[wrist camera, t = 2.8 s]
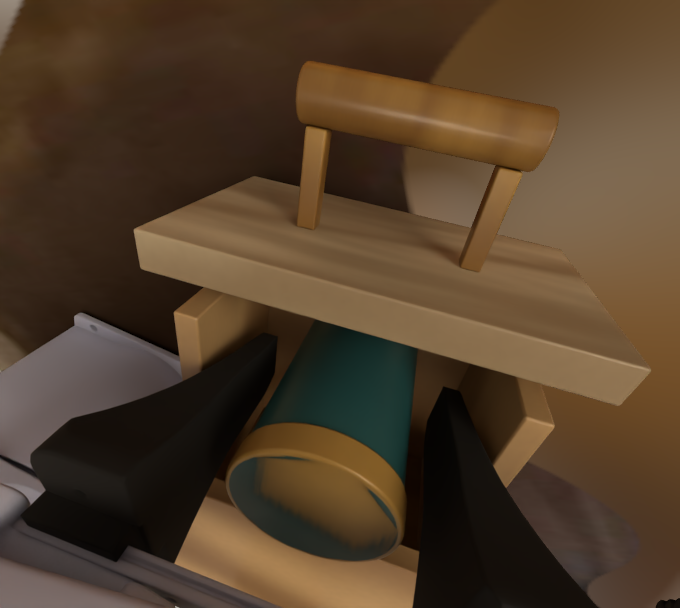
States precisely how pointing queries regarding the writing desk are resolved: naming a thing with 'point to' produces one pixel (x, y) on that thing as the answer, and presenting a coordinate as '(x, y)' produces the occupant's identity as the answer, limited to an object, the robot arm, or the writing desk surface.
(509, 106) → the drawer
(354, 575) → the cabinet
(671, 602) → the flashlight
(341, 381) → the tea tin
